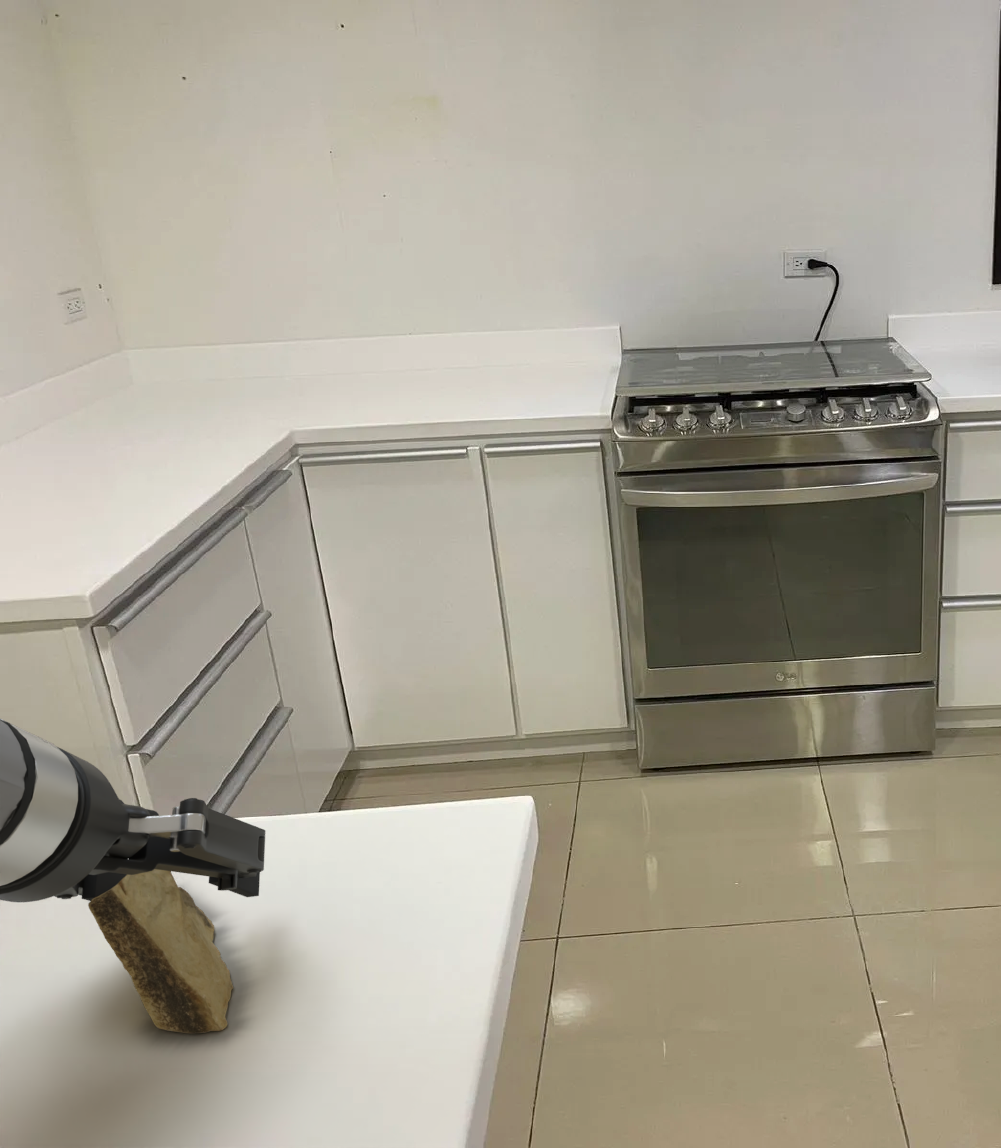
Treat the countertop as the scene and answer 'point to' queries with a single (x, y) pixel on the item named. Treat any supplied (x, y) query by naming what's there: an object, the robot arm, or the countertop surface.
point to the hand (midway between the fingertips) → (196, 883)
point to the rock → (166, 951)
